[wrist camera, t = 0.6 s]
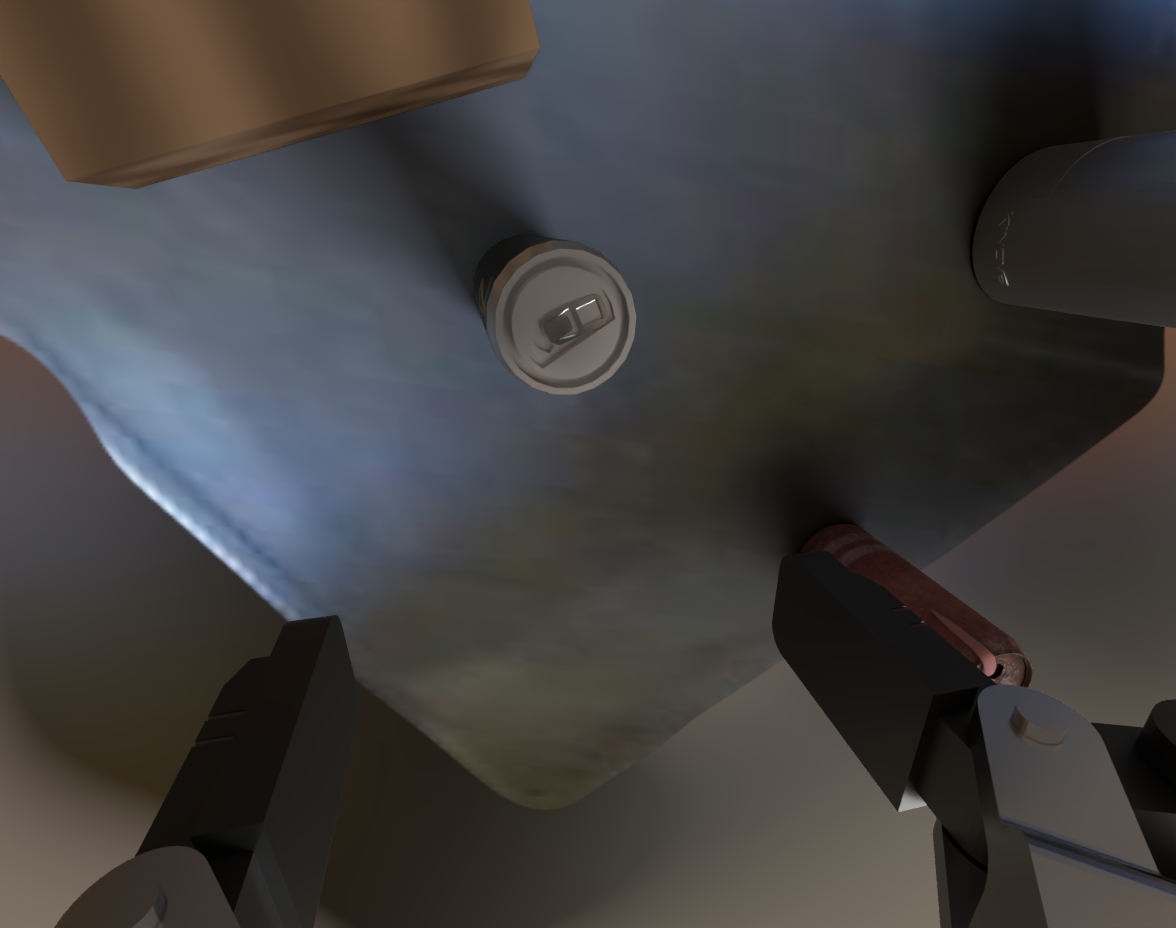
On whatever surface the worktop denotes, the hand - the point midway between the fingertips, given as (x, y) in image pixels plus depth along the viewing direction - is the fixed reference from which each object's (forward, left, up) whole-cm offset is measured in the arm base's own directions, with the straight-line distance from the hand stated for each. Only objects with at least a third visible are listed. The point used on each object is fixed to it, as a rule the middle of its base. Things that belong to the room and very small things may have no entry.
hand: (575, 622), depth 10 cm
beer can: (-3, -3, -23) cm, 24 cm away
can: (-19, +22, -23) cm, 37 cm away
